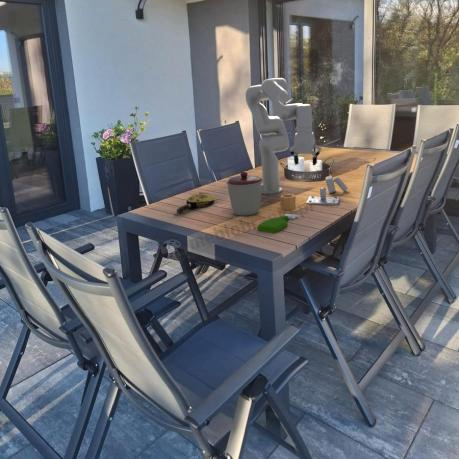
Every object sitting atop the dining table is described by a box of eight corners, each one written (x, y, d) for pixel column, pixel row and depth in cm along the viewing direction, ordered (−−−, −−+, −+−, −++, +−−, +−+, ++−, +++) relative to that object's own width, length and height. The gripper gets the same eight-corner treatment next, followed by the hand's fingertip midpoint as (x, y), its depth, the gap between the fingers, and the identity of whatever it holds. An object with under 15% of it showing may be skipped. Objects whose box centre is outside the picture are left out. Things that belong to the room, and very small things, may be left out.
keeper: (305, 204, 251) (305, 191, 248) (309, 198, 261) (309, 185, 259) (337, 204, 246) (337, 191, 244) (340, 198, 257) (340, 185, 254)
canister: (253, 220, 232) (250, 176, 225) (221, 216, 241) (218, 174, 235) (270, 209, 246) (268, 168, 240) (240, 206, 256) (237, 167, 249)
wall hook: (348, 192, 265) (344, 174, 262) (330, 197, 268) (325, 179, 265) (348, 188, 272) (344, 171, 270) (330, 193, 275) (325, 176, 273)
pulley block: (167, 201, 252) (201, 188, 275) (167, 211, 254) (201, 197, 278) (189, 208, 245) (222, 193, 268) (188, 218, 247) (221, 203, 271)
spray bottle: (255, 231, 217) (282, 216, 236) (276, 234, 211) (302, 219, 230) (255, 225, 216) (282, 211, 235) (276, 228, 210) (302, 213, 229)
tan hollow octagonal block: (280, 209, 246) (279, 197, 244) (282, 205, 252) (282, 194, 250) (293, 209, 244) (293, 197, 242) (296, 205, 250) (296, 194, 248)
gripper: (285, 131, 243) (286, 165, 248) (318, 131, 234) (318, 166, 239) (291, 129, 249) (292, 162, 254) (323, 129, 240) (324, 163, 245)
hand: (305, 164), depth 246 cm, fingers open, 9 cm apart
